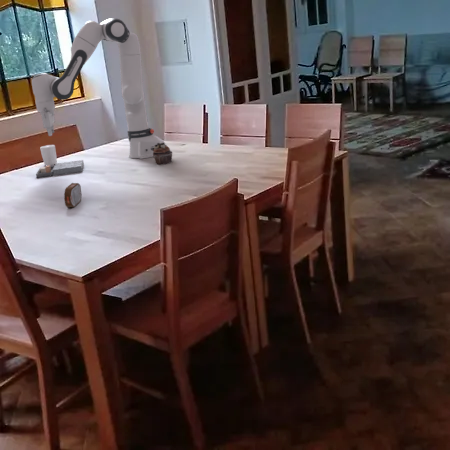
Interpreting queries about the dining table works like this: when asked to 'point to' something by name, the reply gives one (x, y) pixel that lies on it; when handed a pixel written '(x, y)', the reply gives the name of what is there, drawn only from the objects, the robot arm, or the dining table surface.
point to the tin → (72, 195)
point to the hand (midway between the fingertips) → (51, 134)
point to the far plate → (68, 167)
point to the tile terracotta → (48, 168)
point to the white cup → (49, 154)
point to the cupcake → (162, 154)
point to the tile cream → (42, 169)
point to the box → (44, 174)
